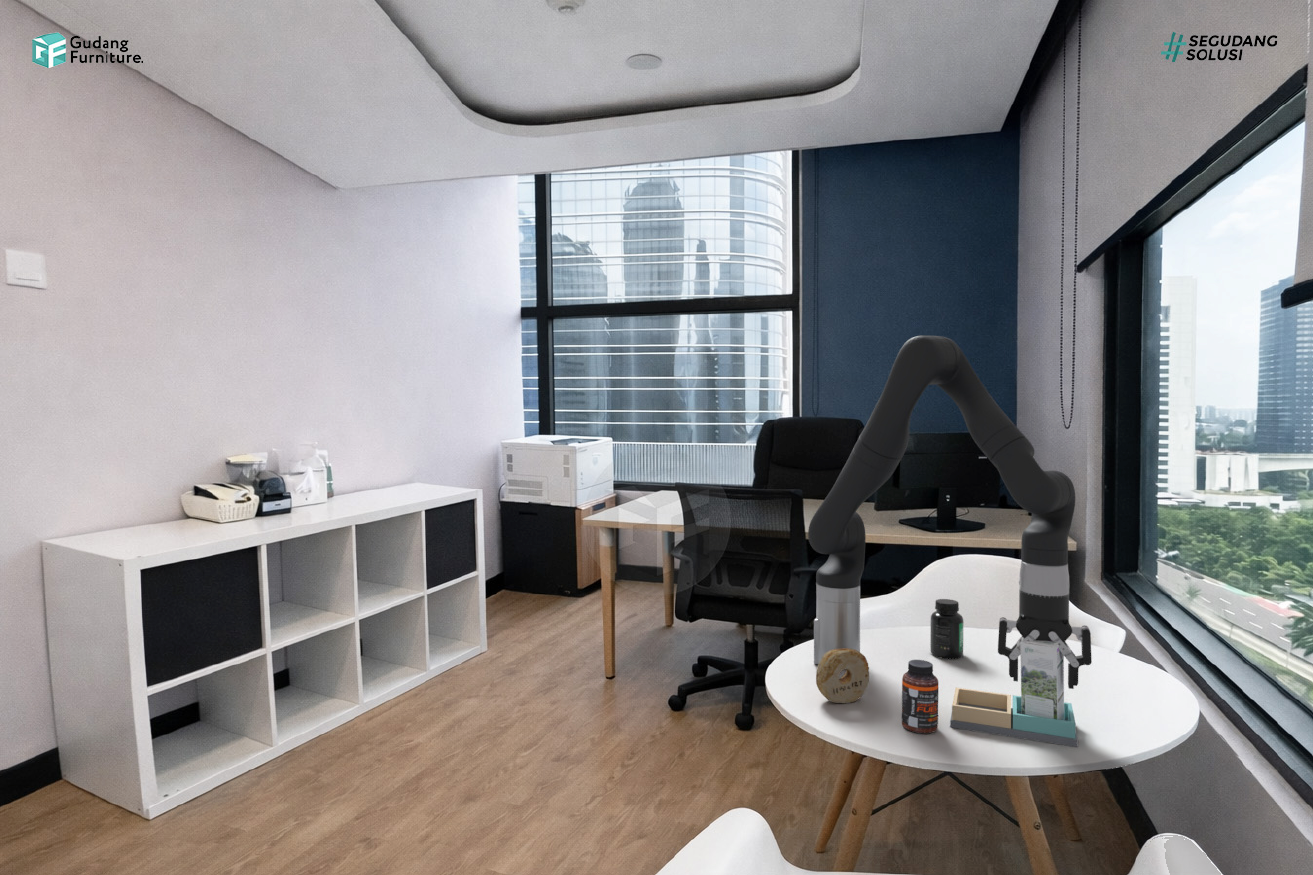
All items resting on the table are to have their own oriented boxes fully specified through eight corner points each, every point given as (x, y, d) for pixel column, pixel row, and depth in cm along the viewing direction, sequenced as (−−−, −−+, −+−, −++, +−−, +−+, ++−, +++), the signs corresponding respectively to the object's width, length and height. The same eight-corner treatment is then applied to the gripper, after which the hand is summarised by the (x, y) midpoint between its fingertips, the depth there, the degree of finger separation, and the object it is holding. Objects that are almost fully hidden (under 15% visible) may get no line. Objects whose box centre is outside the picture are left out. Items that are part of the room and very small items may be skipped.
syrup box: (1065, 720, 129) (1064, 636, 129) (1058, 732, 125) (1056, 645, 125) (1029, 713, 133) (1028, 631, 133) (1020, 724, 129) (1019, 639, 128)
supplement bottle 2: (969, 658, 166) (970, 604, 166) (942, 660, 165) (942, 606, 164) (950, 648, 173) (951, 596, 172) (924, 651, 171) (924, 598, 171)
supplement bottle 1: (918, 737, 127) (918, 670, 126) (894, 724, 132) (894, 660, 132) (945, 731, 129) (946, 665, 128) (920, 718, 134) (921, 655, 134)
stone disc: (861, 694, 146) (861, 642, 146) (871, 701, 142) (871, 648, 142) (812, 700, 143) (812, 647, 143) (821, 707, 140) (821, 654, 139)
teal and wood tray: (950, 726, 131) (950, 705, 130) (954, 706, 140) (954, 686, 139) (1077, 747, 122) (1077, 724, 122) (1072, 723, 131) (1072, 702, 131)
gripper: (997, 589, 128) (996, 684, 128) (1094, 598, 122) (1093, 697, 122) (998, 580, 134) (997, 670, 135) (1090, 587, 128) (1088, 682, 129)
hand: (1042, 683), depth 129 cm, fingers open, 8 cm apart
